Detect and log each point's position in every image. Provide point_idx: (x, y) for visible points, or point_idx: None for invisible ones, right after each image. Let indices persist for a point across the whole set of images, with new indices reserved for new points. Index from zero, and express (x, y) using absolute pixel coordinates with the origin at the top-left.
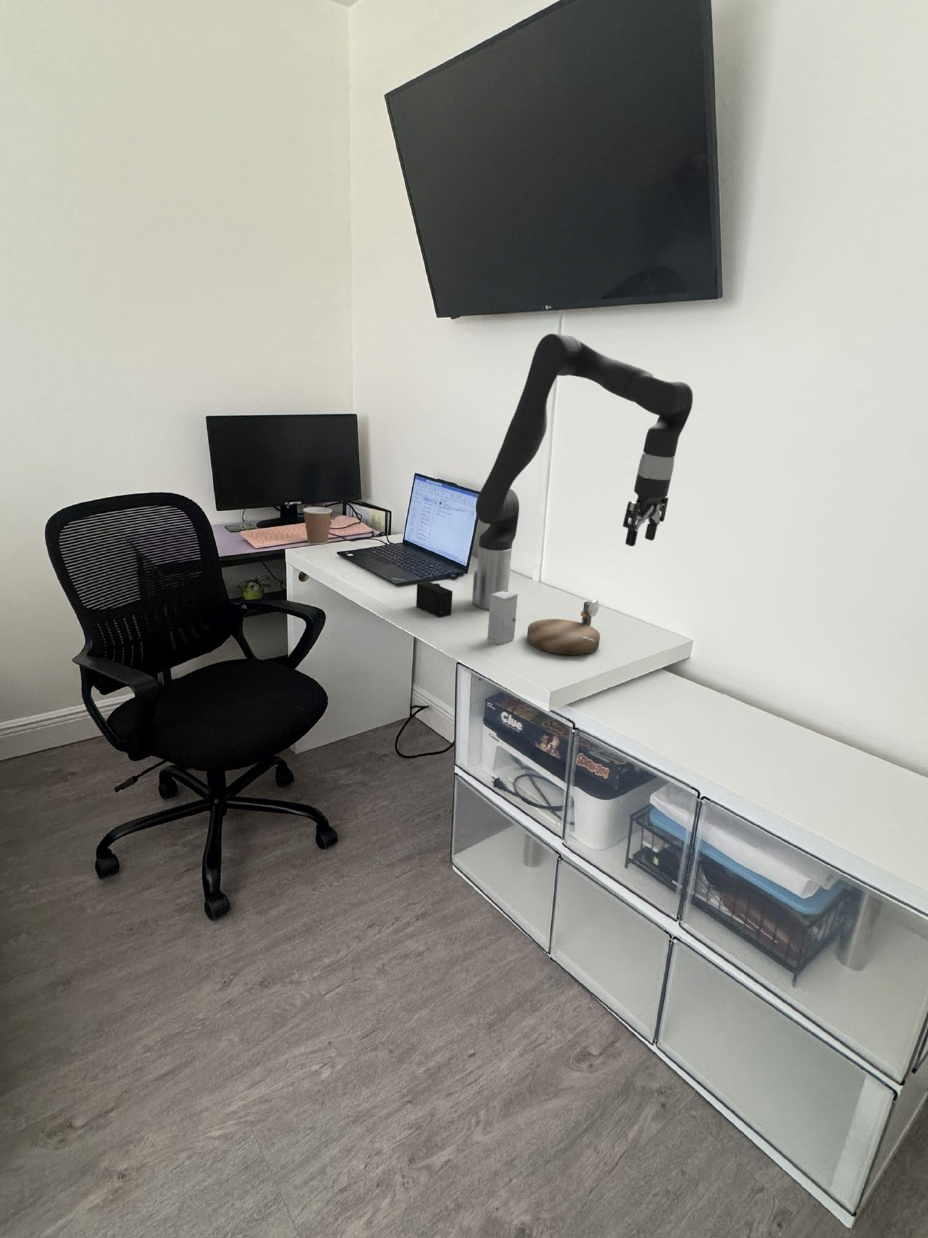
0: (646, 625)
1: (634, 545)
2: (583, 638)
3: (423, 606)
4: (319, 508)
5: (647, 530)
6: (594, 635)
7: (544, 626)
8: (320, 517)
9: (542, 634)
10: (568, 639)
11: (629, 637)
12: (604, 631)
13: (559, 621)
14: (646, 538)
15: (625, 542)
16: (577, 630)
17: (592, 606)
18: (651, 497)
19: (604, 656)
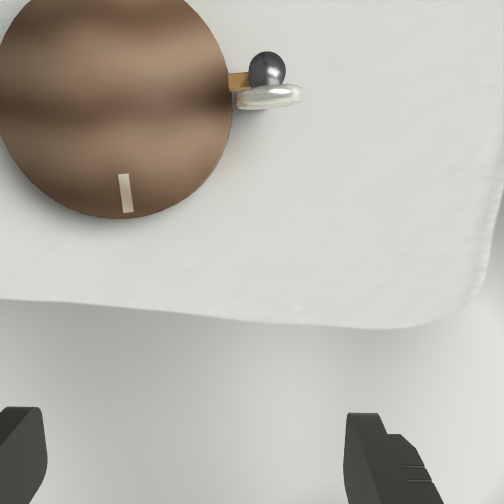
0: (474, 186)
1: (43, 474)
2: (117, 180)
3: None
4: None
5: (364, 476)
6: (168, 187)
7: (93, 27)
8: None
9: (29, 73)
10: (68, 155)
11: (334, 210)
12: (317, 131)
13: (178, 28)
14: (346, 425)
15: (5, 408)
16: (159, 124)
17: (247, 103)
18: None
19: (144, 246)
